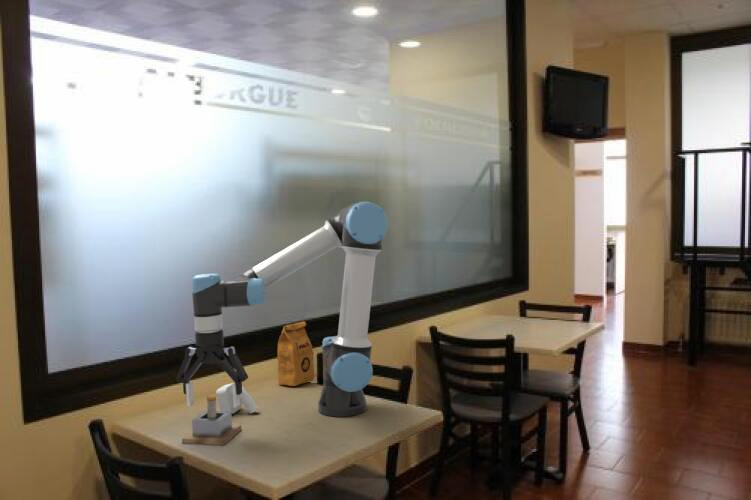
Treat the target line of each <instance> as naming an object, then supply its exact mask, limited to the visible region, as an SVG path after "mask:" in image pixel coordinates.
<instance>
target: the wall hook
mask: <svg viewBox="0 0 751 500" xmlns="http://www.w3.org/2000/svg"><path fill="white" fill-rule="evenodd" d="M233 383H234V382H232V383H226V384H224V385H223V386H221V387H219V388H218V389H216V392H215V394H216V395H215V396H216V400H217V403H218V406H219V411H224V412H232V415H233V414H235V413H236V412H238V410H240V409H242V407H243V406H244V407H245V408H246V410H247V412H248V413H249V414H250V415H252V413H254V412H256V410H258V409H259V407H258V405H257V403H256V402H255V401H254V399H253V398H252V396H251V395H250V394H249V393H248V391H247V390H246V389H245V387H244V386H242V393H241V394H240V395H239V397H240V405H239V406H237V407H236V408H235V407H234V406H233V388H232V384H233Z"/></svg>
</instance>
